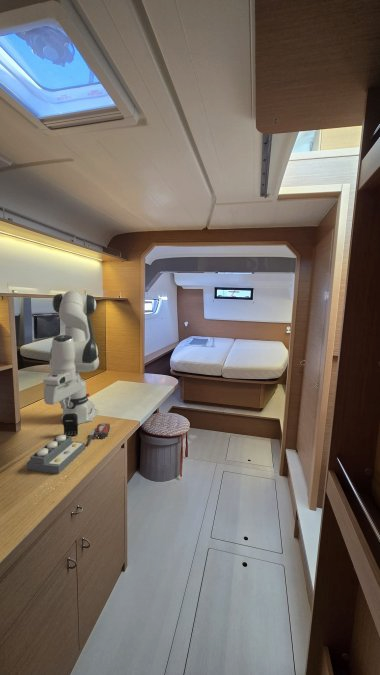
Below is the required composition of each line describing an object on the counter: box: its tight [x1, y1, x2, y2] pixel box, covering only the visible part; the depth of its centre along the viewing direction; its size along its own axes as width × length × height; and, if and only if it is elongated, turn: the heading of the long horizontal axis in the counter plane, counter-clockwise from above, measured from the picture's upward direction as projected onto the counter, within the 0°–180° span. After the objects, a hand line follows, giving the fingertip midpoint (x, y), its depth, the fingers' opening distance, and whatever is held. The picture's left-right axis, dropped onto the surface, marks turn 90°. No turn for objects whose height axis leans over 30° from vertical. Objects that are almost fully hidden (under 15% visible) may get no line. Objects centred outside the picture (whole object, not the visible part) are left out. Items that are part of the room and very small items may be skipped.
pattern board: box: [26, 436, 86, 475], centre depth 116 cm, size 19×14×6 cm
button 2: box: [55, 434, 66, 443], centre depth 122 cm, size 4×4×2 cm
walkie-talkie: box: [86, 423, 111, 446], centre depth 136 cm, size 9×4×20 cm
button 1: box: [36, 447, 48, 457], centre depth 110 cm, size 4×4×2 cm
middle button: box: [46, 440, 58, 450], centre depth 116 cm, size 4×4×2 cm
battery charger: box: [62, 413, 79, 437], centre depth 136 cm, size 7×4×11 cm, turn 99°
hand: (65, 407), depth 113 cm, fingers closed
